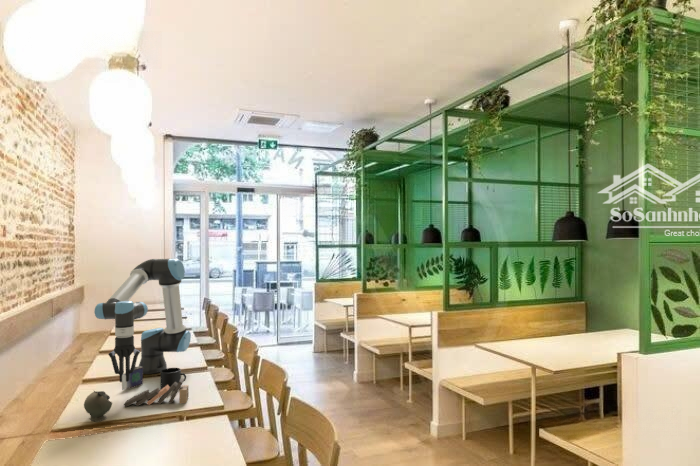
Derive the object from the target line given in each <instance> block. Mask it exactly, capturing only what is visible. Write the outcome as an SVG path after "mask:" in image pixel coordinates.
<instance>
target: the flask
mask: <svg viewBox="0 0 700 466" xmlns="http://www.w3.org/2000/svg"><path fill="white" fill-rule="evenodd" d="M143 376H144V374H143V367H141V366H139V365H138V366H135V369H134V371H133V372H132V373H130V380H129V381H128V382H127V389H126V390H129V389H133V388H136V387H139V386H142V385H143V383H144V379H143V378H144V377H143Z"/></svg>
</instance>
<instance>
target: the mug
mask: <svg viewBox="0 0 700 466" xmlns="http://www.w3.org/2000/svg"><path fill="white" fill-rule="evenodd" d="M181 370H182V369H181V368H180V367H167V369H163V370H161V372H159V373H160V374H159V375H160V390H161V389H163V388H164V387H165V386H166V385H169V387H171V386H172V384H173V383H174V382H175V381H176V382H177V383H179V381H180V379H182V376H184V381H183V383H184V382H185V381H186V380H187V375H186V373H183V372H182V371H181ZM174 390H175V389H174ZM174 390H173V391H172V392H174Z"/></svg>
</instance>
